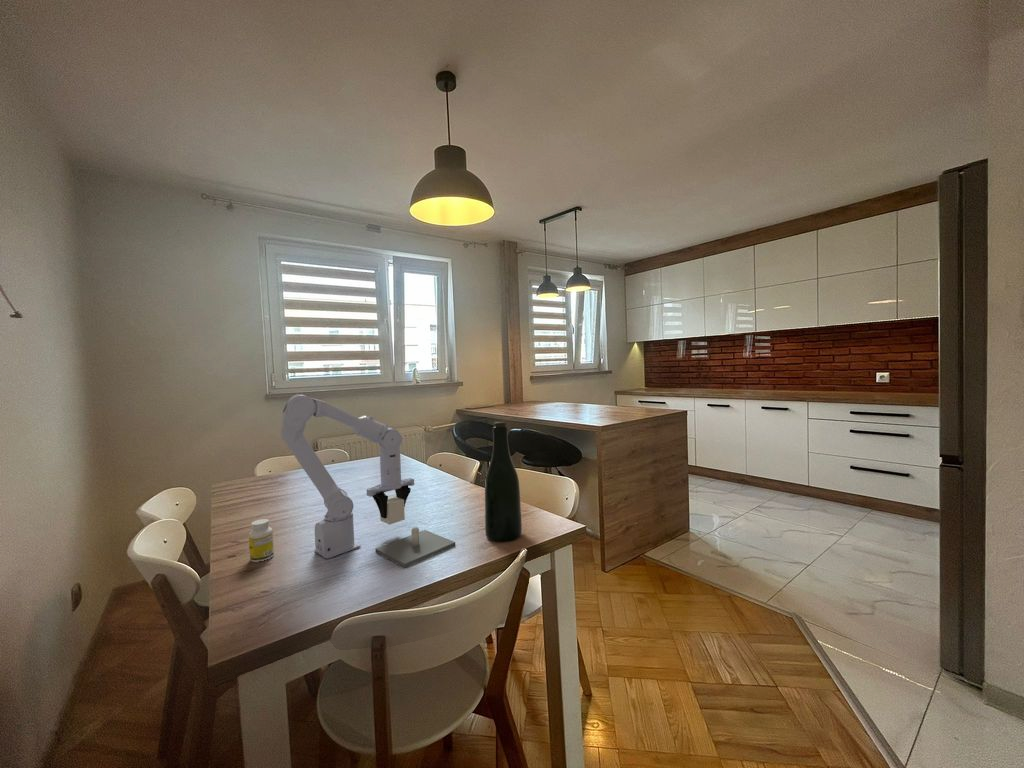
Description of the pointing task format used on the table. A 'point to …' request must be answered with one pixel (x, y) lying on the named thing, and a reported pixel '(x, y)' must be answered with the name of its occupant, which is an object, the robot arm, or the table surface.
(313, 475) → the robot arm
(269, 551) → the supplement bottle
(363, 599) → the table surface
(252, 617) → the table surface
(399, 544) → the post board
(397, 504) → the sleeve
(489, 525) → the green wine bottle
